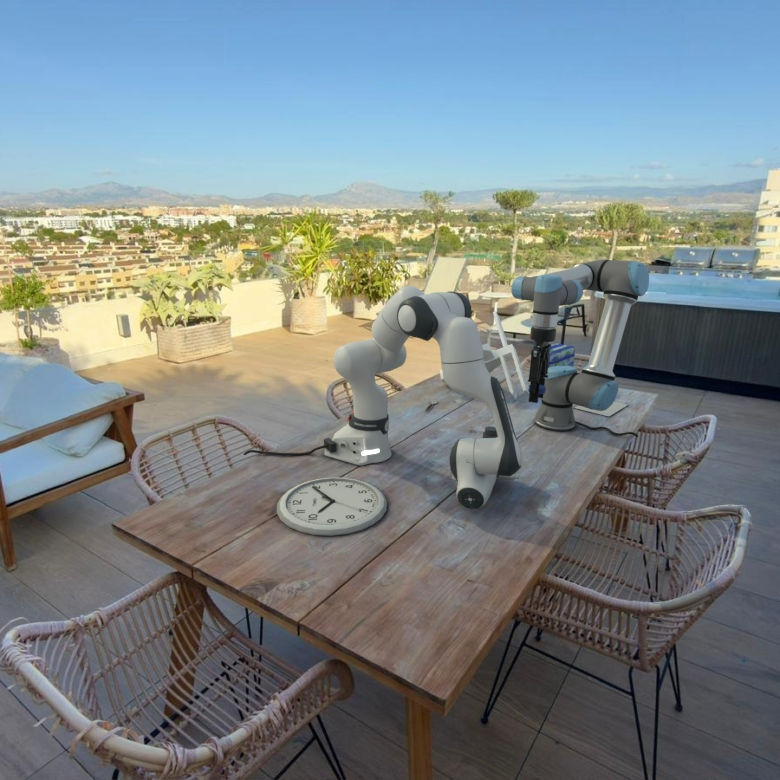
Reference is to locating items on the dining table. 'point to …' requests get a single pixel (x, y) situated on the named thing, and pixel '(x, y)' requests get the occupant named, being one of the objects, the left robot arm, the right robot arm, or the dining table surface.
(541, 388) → the lid
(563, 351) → the lunch box
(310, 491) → the wall clock
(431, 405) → the fork
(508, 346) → the white plastic object
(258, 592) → the dining table surface
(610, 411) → the invitation card
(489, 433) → the dark grey cylinder
